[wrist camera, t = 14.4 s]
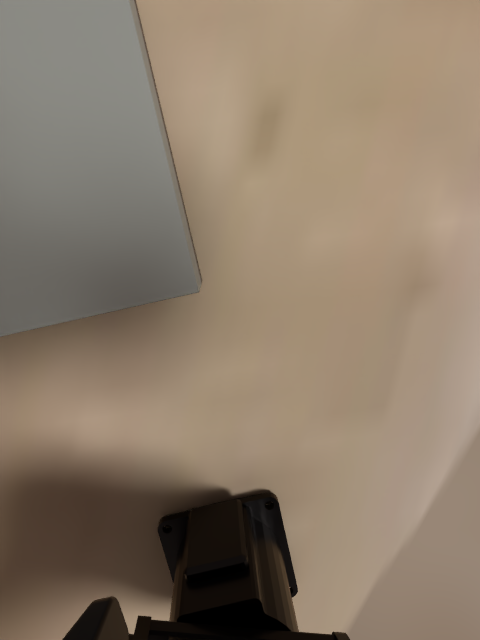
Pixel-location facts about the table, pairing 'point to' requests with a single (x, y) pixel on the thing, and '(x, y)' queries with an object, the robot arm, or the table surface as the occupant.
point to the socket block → (84, 168)
